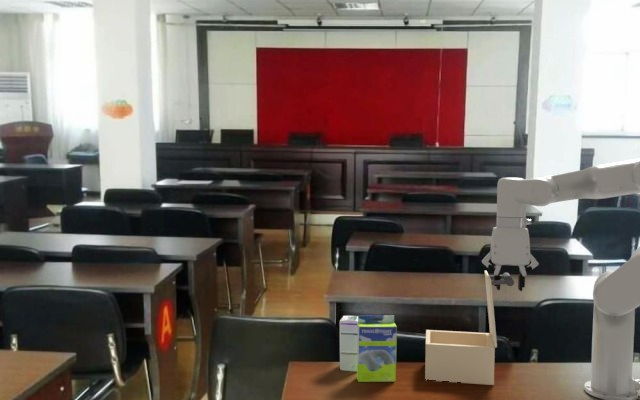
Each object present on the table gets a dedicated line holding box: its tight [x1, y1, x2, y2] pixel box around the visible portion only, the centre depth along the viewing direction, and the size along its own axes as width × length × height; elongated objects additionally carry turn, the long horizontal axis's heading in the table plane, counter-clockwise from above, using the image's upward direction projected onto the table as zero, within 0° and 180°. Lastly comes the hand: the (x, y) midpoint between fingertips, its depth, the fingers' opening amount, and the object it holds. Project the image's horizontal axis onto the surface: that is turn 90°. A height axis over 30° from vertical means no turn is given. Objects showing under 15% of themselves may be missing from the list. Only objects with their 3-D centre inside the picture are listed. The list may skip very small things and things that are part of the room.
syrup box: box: [339, 315, 359, 372], centre depth 176 cm, size 6×6×14 cm
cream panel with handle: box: [484, 270, 515, 348], centre depth 169 cm, size 18×14×7 cm
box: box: [356, 314, 398, 383], centre depth 167 cm, size 10×4×17 cm, turn 93°
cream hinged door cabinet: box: [424, 329, 496, 386], centre depth 172 cm, size 18×14×10 cm
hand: (509, 288), depth 168 cm, fingers open, 5 cm apart
